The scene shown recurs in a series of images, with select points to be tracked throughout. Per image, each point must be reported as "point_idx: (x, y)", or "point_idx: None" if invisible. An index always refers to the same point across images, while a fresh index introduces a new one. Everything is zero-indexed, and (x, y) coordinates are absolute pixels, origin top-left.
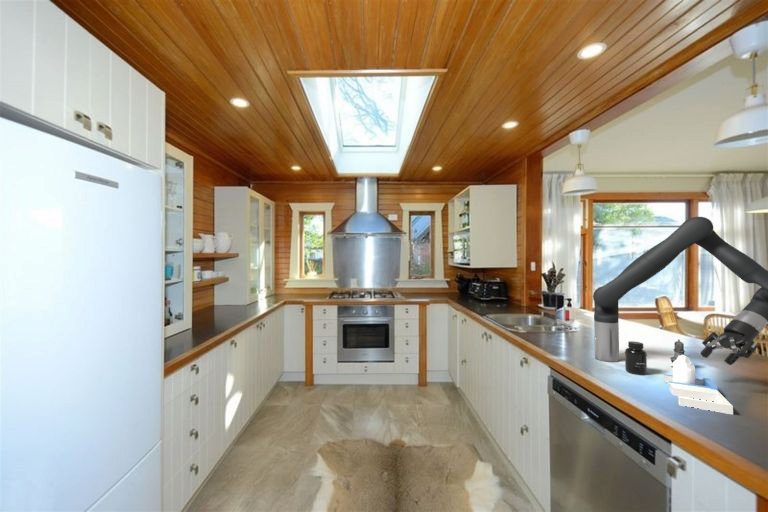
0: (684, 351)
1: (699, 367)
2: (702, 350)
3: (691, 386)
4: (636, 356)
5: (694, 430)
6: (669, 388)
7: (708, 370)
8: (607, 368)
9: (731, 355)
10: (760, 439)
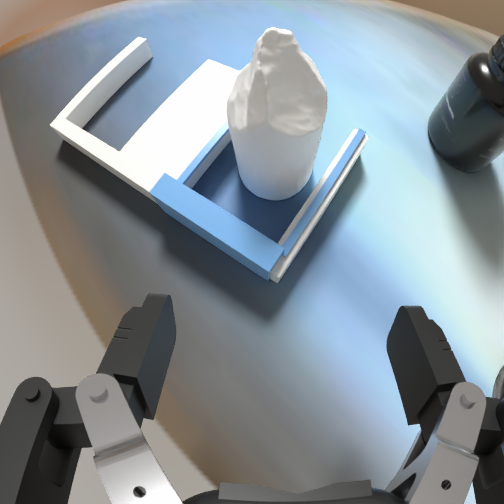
0: None
1: None
2: (448, 345)
3: (209, 125)
4: (462, 68)
5: (65, 30)
6: None
7: None
8: None
9: (125, 351)
10: (3, 106)
